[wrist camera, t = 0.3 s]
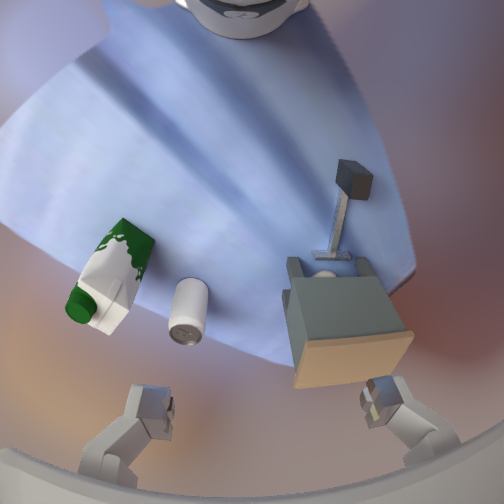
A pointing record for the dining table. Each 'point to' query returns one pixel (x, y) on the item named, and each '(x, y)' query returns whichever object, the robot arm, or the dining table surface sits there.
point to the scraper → (345, 204)
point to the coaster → (324, 274)
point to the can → (188, 312)
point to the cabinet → (341, 327)
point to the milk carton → (111, 278)
